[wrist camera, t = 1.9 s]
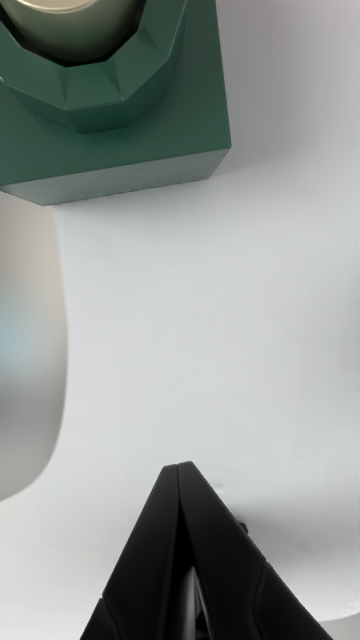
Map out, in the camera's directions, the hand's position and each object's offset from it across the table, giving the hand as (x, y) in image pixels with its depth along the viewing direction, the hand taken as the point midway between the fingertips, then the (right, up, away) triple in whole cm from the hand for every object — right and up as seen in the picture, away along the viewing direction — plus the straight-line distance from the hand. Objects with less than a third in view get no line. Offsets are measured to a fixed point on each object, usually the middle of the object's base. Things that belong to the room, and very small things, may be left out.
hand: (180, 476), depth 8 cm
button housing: (-4, +17, +8) cm, 19 cm away
